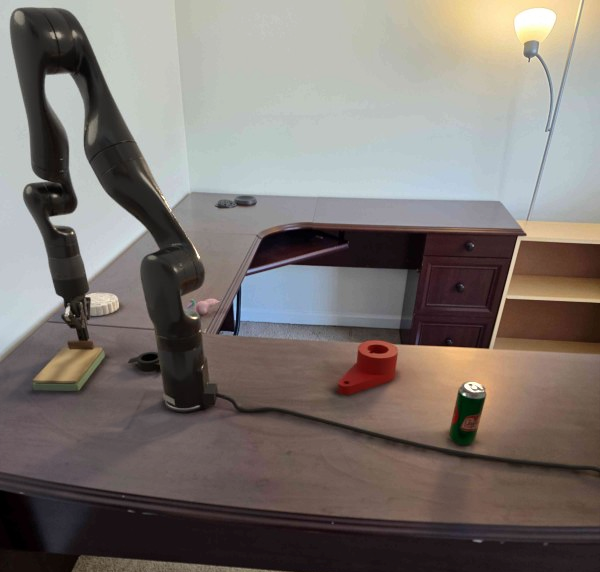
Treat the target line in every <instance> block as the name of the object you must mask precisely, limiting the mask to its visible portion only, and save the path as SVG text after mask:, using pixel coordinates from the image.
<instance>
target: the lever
mask: <svg viewBox="0 0 600 572" xmlns="http://www.w3.org/2000/svg"><path fill="white" fill-rule="evenodd" d="M356 355H357V357H356V362H355V363H354V364H353V366H351V368H349V369H348V371H346V373H344V374H343V376H342V377H341V378H339V380H338V381H337V392H338V394H339V395H343V396H349V395H352V394H355V393H359V392H362V391H364V390H368V389H371V388H374V387H376V386H380V385H383V384H386V383H389V382H391V381H393V380H394V379H395V377H396V371H397V362H398V355H399V349H398V347H397V346H396V345H394V344H393V343H391V342H388V341H384V340H376V339H375V340H367V341H363V342H361V343H360V344H359V345H358V347H357V354H356Z"/></svg>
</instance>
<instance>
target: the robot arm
mask: <svg viewBox="0 0 600 572" xmlns="http://www.w3.org/2000/svg"><path fill="white" fill-rule="evenodd" d="M10 14H11V15H10V18H9V37H10V38H9V39H10V44H11V50H12V55H13V59H14V66H15V69H16V75H17V79H18V84H19V89H20V92H21V93H20V94H21V98H22V101H23V102H22V103H23V106H24V109H25V115H26V120H27V126H28V135H29V151H30V152H29V153H30V165H31V170H32V172H33V173H34V175H35V176H36V177H38V178H39V179H41V180H43V181H39V182H38V181H37V182H36V181H35V182H29V183H27V184H26V185H25V186H24V188H23V190H22V200H23V202H24V205H25V207H26V208H27V209H26V210H28V212H29V214H30V215H31V218H32V220H34V223H35V224H36V226H37V228H38V230H39V232H40V235H41V237H42V240H43V244H44V248H45V252H46V256H47V264H48V269H49V272H50V276H51V280H52V284H53V288H54V293H55V294H56V296H58V297H60V298H62V299H63V307H64V309H65V312H64V313H61V315H60V318H61V320H63V322H64V323H65V324H66V325H67V326H68V327H69V328H70V329H75V331H76V335H77V339H78V341H89V339H90V334H89V330H88V324H89V322H88V321H90V319H91V316H90V304H91V298H90V297H85V295H87V294H88V293H89V292H90V286H89V281H88V275H87V272H86V268H85V263H84V260H83V257H82V254H81V250H80V246H79V242H78V241H79V240H78V236H77V233H76V230H75V229H74V228H73V227H72V226H69V225H61V224H60V225H59V224H58V225H57V224H53V223H52V221H51V219H50V218H52V217H58V216H59V217H60V216H67V215H71V214H73V213H74V212H76V210H77V208H78V205H79V201H78V200H79V199H78V196H77V192H76V190H75V187H74V185H73V181H72V177H71V172H70V141H69V136H68V133H67V131H66V130H67V129H66V128H65V126H64V125H63V122H62V121H61V119H60V118H59V117H58V114H57V113H56V112H55V110H54V109H53V107H52V105H51V103H50V102H49V100H48V97H47V93H46V77H47V76H55V75H56V76H57V75H70V77H71V78H72V80H73V81H74V84H75V85H76V87H77V89H78V91H79V94H80V96H81V99H82V102H83V110H84V119H83V138H82V139H83V149H84V150H83V151H84V155H85V157H86V160H87V162H88V164H89V166H90V167H91V170H92V171H93V173H94V176H95V177H96V179H97V181H98V183H99V184H100V186H101V187H102V189H103V191H104V192H105V193H106V195H108V197H109V198H111V200H113V201H114V202H115V203H116V204H117V205H118V206H120V207H121V208H122V209H123V210H125V212H127V213H128V214H129V215H131V216H132V217H133V218H135V220H137V221H138V222H139V223H140V224H141V225H142V226H143V227H144V228H145V229H146V231H148V233H149V234H150V236H151V237H152V239H153V240H154V242H155V244H156V245H157V247H158V250H155V251H152V252H149V253H147V254H145V255H144V256H143V258H142V259H141V262H140V266H139V275H140V276H139V277H140V282H141V288H142V291H143V296H144V301H145V305H146V309H147V313H148V318H149V319H150V321H151V323H152V325H153V329H154V338H155V342H156V349H157V353H158V356H159V363H160V369H161V371H160V374H161V382H162V387H163V393H162V397H163V400H164V404H165V407H166V408H167V409H168V410H170V411H173V412H177V413H192V412H197V411H199V410H205V409H207V407H208V406H216V403H217V400H218V398H219V399H223V400H226V401H228V402H230V403H231V404H232V405H233V407H234V408H235V409H236V410H237V411H239V412H242V413H249V414H251V413H252V414H253V413H261V412H275V413H281V414H284V415H285V414H286V415H290V416H294V417H297V418H302V419H306V420H310V421H314V422H317V423H322V424H326V425H330V426H333V427H337V428H340V429H344V430H349V431H351V432H356V433H360V434H363V435H368V436H371V437H374V438H379V439H383V440H386V441H390V442H395V443H397V444H403V445H406V446H410V447H415V448H419V449H424V450H430V451H434V452H439V453H443V454H450V455H455V456H459V457H467V458H473V459H480V460H487V461H493V462H501V463H507V464H508V463H509V464H515V465H526V466H536V467H545V468H546V467H547V468H555V469H556V468H557V469H565V470H572V471H573V470H574V471H577V470H578V471H591V472H593V471H594V472H597V473H599V474H600V467H599V466H595V465H587V464H584V465H583V464H582V465H581V464H567V463H560V462H549V461H538V460H528V459H519V458H510V457H502V456H501V457H500V456H495V455H487V454H481V453H474V452H467V451H463V450H457V449H456V450H455V449H451V448H445V447H441V446H436V445H435V446H434V445H430V444H425V443H420V442H416V441H412V440H408V439H403V438H398V437H394V436H390V435H386V434H383V433H378V432H376V431H371V430H367V429H364V428H359V427H356V426H352V425H348V424H344V423H341V422H337V421H333V420H329V419H325V418H320V417H317V416H313V415H310V414H305V413H301V412H298V411H293V410H289V409H285V408H279V407H272V406H266V407H256V408H245V407H242V406H240V405H238V403H237V401H236V400H235V399H234V398H232V397H230V396H228V395H225V394H223V393H220V392H219V391H218V383H214V382H213V383H212V382H211V383H210V375H209V366H208V365H209V364H208V357H207V356H205V350H204V342H203V341H204V340H203V330H202V329H203V328H202V320H201V319H202V318H201V315H199V314H198V313H197V312H196V311H194V309H192V308H191V309H190V308H189V309H187V307H184V305H183V299H182V297H184V296H187V295H189V294H191V293H193V292H195V291H197V290H200V288H201V287H202V286H203V285H204V283H205V280H206V271H205V266H204V263H203V260H202V258H201V256H200V254H199V251H197V249H196V246H195V245H194V244H193V242H192V241H191V239H190V237H189V236H188V234H187V233H186V231H185V229H184V228H183V226H182V225H181V224H180V222H179V220H178V219H177V217H176V215H175V213H174V212H173V210H172V209H171V207H170V204H169V203H168V201H167V200H166V198H165V196H164V194H163V192H162V189H160V186H159V185H158V183H157V181H156V178H155V177H154V176H153V173H152V171H151V169H150V167H149V164H148V162H147V160H146V159H145V156H144V154H143V152H142V151H141V149H140V147H139V145H138V142H137V141H136V139H135V138H134V136H133V134H132V132H131V130H130V128H129V126H128V125H127V122H126V120H125V119H124V117H123V115H122V113H121V110H120V108H119V106H118V105H117V102H116V100H115V98H114V96H113V94H112V91H111V90H110V88H109V87H110V86H109V85H108V83H107V80H106V78H105V76H104V73H103V71H102V69H101V66H100V64H99V61H98V59H97V56H96V54H95V51H94V49H93V47H92V44H91V42H90V40H89V38H88V35H87V33H86V31H85V29H84V27H83V25H82V24H81V22H80V21H79V20H78V18H77V17H76V16H75V14H73V13H72V12H71V11H70V10H68V9H66V8H61V7H33V6H25V7H17V8H15V9H14V10H13V11H12V12H11V13H10Z"/></svg>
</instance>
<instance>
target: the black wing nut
mask: <svg viewBox="0 0 600 572" xmlns="http://www.w3.org/2000/svg"><path fill="white" fill-rule="evenodd" d="M127 364H133V365H137V366H138V370H139V371H140V372H143V373H144V372H145V373H152V372H155V373H158V372H161V369H160V363H159V356H158V351H157V352H156V351H147V352H143V353H141V354H139V355H137V356H135V357H132V358H130V359H128V361H127Z"/></svg>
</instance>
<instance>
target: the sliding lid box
mask: <svg viewBox="0 0 600 572" xmlns="http://www.w3.org/2000/svg"><path fill="white" fill-rule="evenodd" d="M105 357H106V356H105V350H103V349H102V351H101V352H100V353H99V355H98V356H97V357H96V358H95V360H94V361H93V362H92V364H91V365H90V366H89V367H88V369H87V370H86V371H85V373H84V374H83V375H82V376H81V378H80V379H79V380H78V381H77V383H34V382H32V387H33V391H59V392H61V391H62V392H63V391H67V392H68V391H69V392H70V391H72V392H74V391H75V392H78V391H80V390H81V389H82V387H83V386H84V385H85V383H86V382H87V381H88V380H89V378H90V377H91V376H92V374H93V372H94V371H95V370H96V369H97V367H98V366H99V365H100V363H101V362H102V361H103V359H105Z"/></svg>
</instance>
